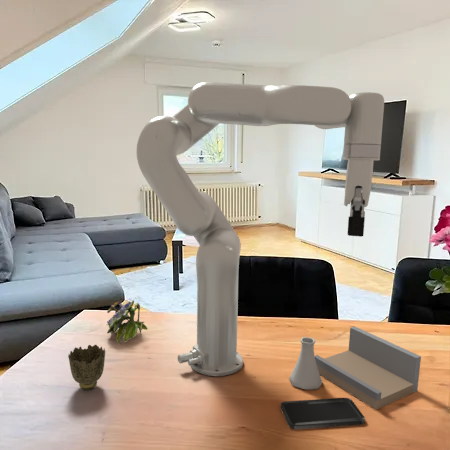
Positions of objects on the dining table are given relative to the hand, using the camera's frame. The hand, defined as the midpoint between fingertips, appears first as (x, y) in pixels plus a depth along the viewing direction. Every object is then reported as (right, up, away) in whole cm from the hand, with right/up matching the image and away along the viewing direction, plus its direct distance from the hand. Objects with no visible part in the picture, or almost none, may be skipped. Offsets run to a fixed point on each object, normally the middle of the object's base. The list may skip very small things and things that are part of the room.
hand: (355, 231), depth 93 cm
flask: (-11, -34, +1) cm, 35 cm away
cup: (-58, -33, -3) cm, 67 cm away
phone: (-10, -36, -11) cm, 39 cm away
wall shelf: (+2, -34, +2) cm, 34 cm away
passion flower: (-56, -29, +23) cm, 67 cm away
